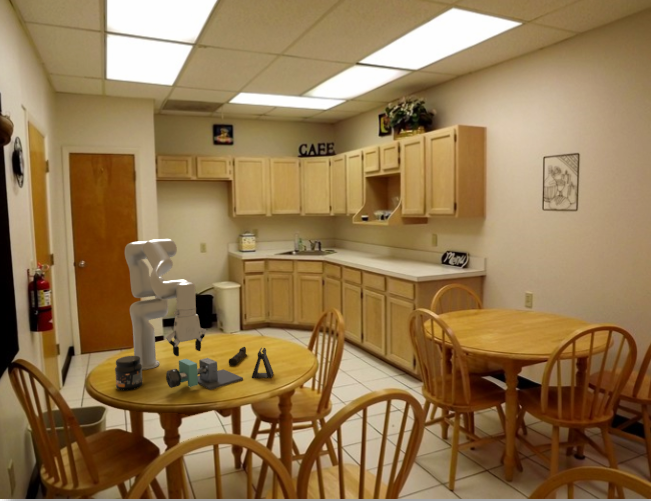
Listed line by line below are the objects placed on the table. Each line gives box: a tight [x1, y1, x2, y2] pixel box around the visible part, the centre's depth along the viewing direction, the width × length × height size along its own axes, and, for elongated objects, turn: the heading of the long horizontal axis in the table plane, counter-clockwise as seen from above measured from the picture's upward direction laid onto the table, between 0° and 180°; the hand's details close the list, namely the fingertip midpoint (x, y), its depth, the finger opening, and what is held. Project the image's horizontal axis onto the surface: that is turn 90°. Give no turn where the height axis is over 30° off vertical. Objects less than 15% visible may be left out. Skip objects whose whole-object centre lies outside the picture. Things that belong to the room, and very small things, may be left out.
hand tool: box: [228, 346, 247, 367], centre depth 231 cm, size 19×4×5 cm, turn 168°
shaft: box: [165, 367, 206, 389], centre depth 195 cm, size 7×19×7 cm, turn 134°
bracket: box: [198, 357, 219, 384], centre depth 201 cm, size 8×4×8 cm, turn 44°
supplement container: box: [114, 355, 144, 392], centre depth 197 cm, size 10×10×12 cm
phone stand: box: [251, 347, 274, 379], centre depth 208 cm, size 9×6×12 cm, turn 88°
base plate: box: [198, 368, 244, 391], centre depth 204 cm, size 16×16×1 cm
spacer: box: [178, 358, 199, 388], centre depth 194 cm, size 9×4×9 cm, turn 44°
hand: (187, 352), depth 194 cm, fingers open, 9 cm apart
